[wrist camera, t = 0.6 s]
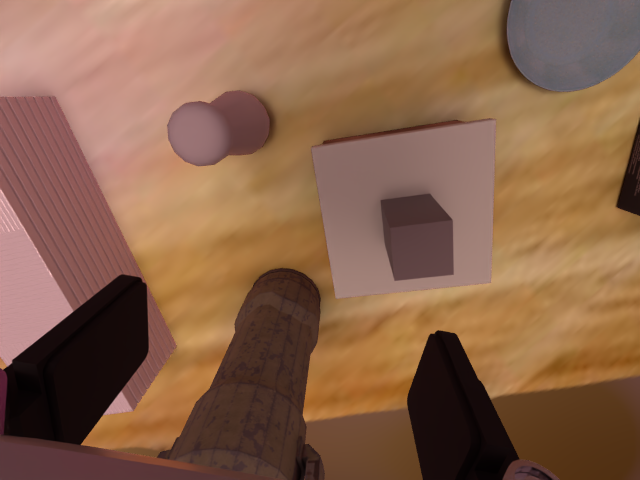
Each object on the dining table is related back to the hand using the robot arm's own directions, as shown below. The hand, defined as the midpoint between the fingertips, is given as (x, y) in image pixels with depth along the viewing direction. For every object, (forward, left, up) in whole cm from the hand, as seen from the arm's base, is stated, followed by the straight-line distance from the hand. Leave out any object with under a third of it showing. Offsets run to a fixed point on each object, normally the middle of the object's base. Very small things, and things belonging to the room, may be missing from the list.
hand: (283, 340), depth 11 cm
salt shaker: (+7, -6, -27) cm, 29 cm away
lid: (-7, +3, -20) cm, 22 cm away
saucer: (-23, -10, -28) cm, 37 cm away
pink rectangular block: (+30, +5, -28) cm, 41 cm away
